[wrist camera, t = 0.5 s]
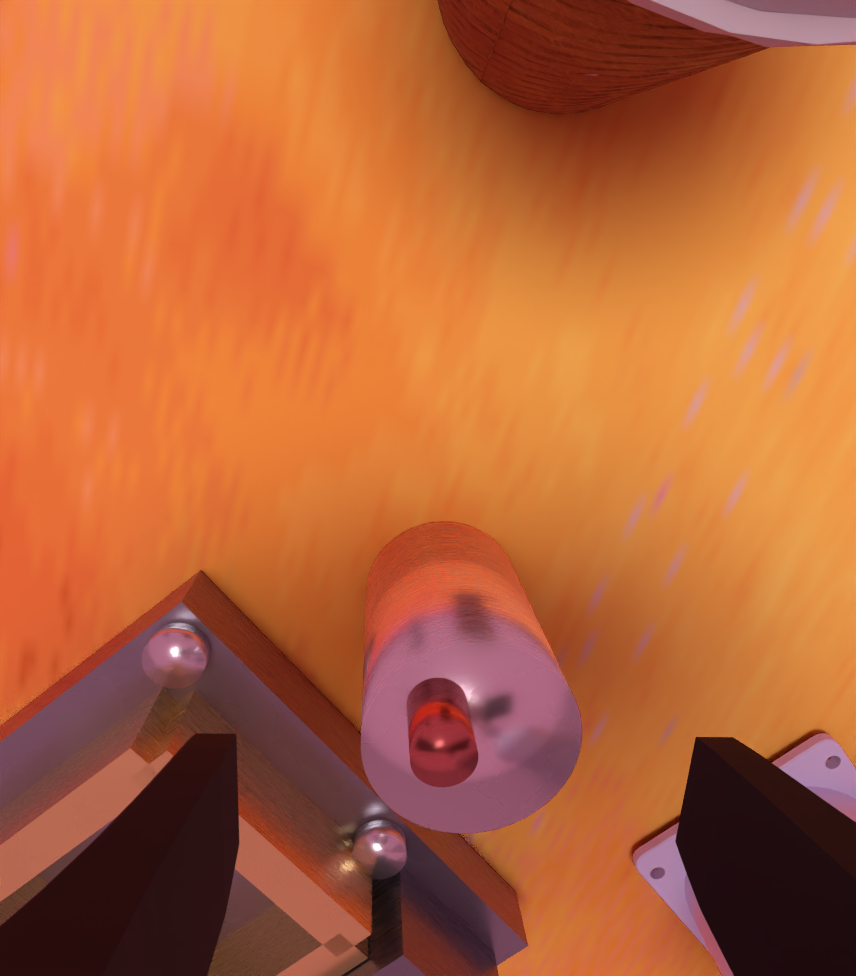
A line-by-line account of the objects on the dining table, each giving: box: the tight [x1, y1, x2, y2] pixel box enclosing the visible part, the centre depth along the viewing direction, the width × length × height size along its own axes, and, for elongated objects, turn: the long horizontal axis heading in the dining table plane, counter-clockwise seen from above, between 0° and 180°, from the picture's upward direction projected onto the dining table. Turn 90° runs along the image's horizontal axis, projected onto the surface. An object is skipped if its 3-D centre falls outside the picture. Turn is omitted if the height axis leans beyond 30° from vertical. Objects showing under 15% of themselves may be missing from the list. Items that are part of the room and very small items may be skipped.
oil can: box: [361, 521, 582, 833], centre depth 16 cm, size 4×4×9 cm
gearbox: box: [0, 571, 528, 976], centre depth 20 cm, size 16×12×5 cm
